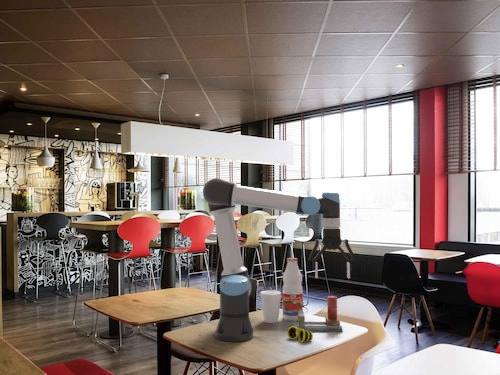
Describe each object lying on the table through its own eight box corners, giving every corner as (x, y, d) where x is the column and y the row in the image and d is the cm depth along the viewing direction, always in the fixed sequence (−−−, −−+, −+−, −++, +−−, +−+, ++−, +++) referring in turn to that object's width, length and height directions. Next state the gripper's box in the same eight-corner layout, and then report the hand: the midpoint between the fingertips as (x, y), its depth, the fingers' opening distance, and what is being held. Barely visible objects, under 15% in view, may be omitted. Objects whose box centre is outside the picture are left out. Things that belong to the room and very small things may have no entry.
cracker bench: (298, 331, 178) (298, 316, 178) (297, 325, 188) (297, 311, 188) (342, 332, 176) (342, 317, 177) (339, 325, 186) (339, 311, 187)
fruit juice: (303, 316, 203) (302, 257, 204) (302, 321, 194) (302, 259, 195) (283, 316, 204) (282, 257, 206) (281, 321, 195) (281, 259, 196)
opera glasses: (313, 344, 164) (314, 330, 165) (303, 343, 161) (305, 330, 162) (295, 338, 172) (297, 325, 173) (286, 337, 169) (287, 324, 170)
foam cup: (265, 324, 189) (265, 294, 189) (257, 319, 197) (257, 291, 198) (284, 322, 192) (284, 293, 193) (276, 317, 201) (276, 289, 201)
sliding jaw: (327, 325, 178) (327, 298, 179) (325, 320, 186) (325, 295, 187) (339, 325, 178) (339, 299, 178) (337, 320, 186) (336, 295, 186)
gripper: (302, 228, 181) (303, 279, 180) (362, 228, 179) (363, 279, 178) (302, 228, 189) (302, 276, 188) (359, 227, 187) (360, 276, 186)
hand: (332, 277), depth 183 cm, fingers open, 13 cm apart
